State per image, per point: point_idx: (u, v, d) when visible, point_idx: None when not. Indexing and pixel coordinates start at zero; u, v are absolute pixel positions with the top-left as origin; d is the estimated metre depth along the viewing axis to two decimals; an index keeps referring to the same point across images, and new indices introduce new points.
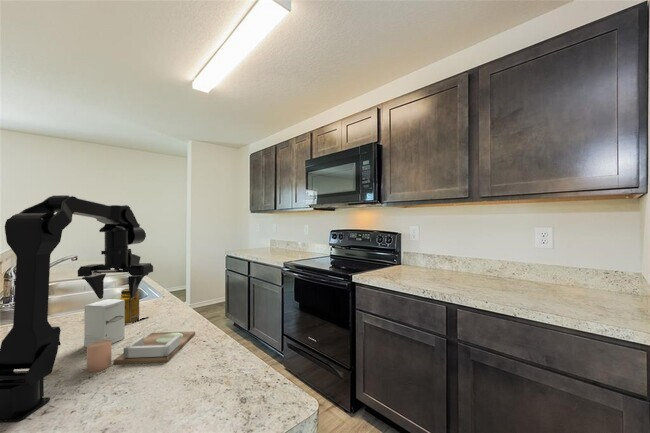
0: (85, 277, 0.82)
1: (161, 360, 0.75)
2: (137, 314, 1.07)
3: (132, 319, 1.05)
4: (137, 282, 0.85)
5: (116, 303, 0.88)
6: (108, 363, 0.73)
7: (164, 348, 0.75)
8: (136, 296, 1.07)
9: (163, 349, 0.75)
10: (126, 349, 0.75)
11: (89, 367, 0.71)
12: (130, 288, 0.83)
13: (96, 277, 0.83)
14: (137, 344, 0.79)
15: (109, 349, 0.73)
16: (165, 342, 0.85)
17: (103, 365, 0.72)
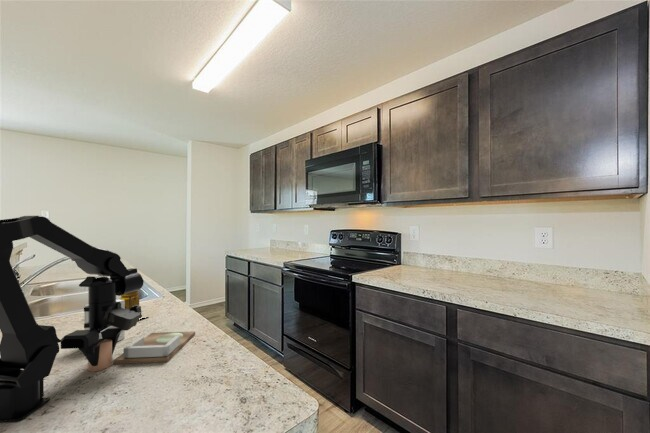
0: None
1: (161, 360, 0.75)
2: None
3: None
4: (92, 349, 0.69)
5: None
6: (109, 362, 0.73)
7: (164, 348, 0.75)
8: (136, 296, 1.07)
9: (163, 349, 0.75)
10: (126, 349, 0.75)
11: (89, 367, 0.71)
12: None
13: (107, 330, 0.76)
14: (137, 344, 0.79)
15: (110, 348, 0.73)
16: (165, 342, 0.85)
17: (103, 364, 0.72)
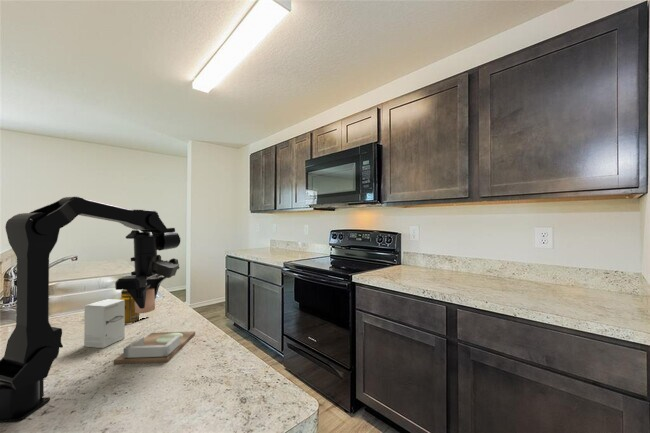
0: None
1: (161, 360, 0.75)
2: (137, 314, 1.07)
3: (132, 319, 1.05)
4: (140, 293, 0.79)
5: (116, 303, 0.88)
6: (153, 307, 0.83)
7: (164, 348, 0.75)
8: None
9: (163, 349, 0.75)
10: (126, 349, 0.75)
11: (137, 309, 0.81)
12: None
13: (149, 280, 0.86)
14: (137, 344, 0.79)
15: (153, 295, 0.83)
16: (165, 342, 0.85)
17: (149, 308, 0.82)
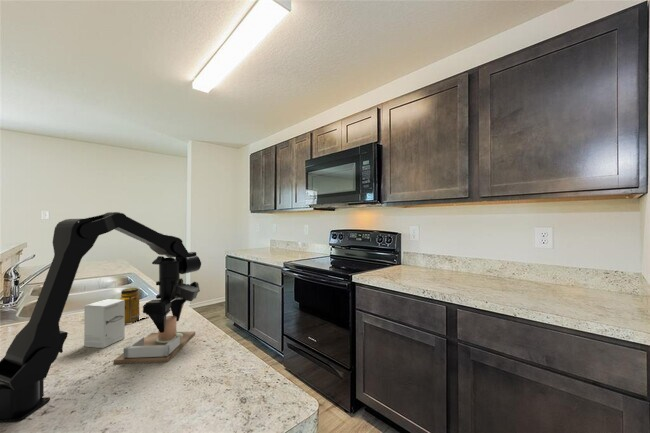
0: None
1: (161, 360, 0.75)
2: (137, 314, 1.07)
3: (132, 319, 1.05)
4: (161, 318, 0.83)
5: (116, 303, 0.88)
6: (175, 334, 0.88)
7: (164, 348, 0.75)
8: (136, 296, 1.07)
9: (163, 349, 0.75)
10: (126, 349, 0.75)
11: (160, 337, 0.86)
12: None
13: (174, 301, 0.93)
14: (137, 344, 0.79)
15: (175, 323, 0.88)
16: (165, 342, 0.85)
17: (171, 336, 0.87)
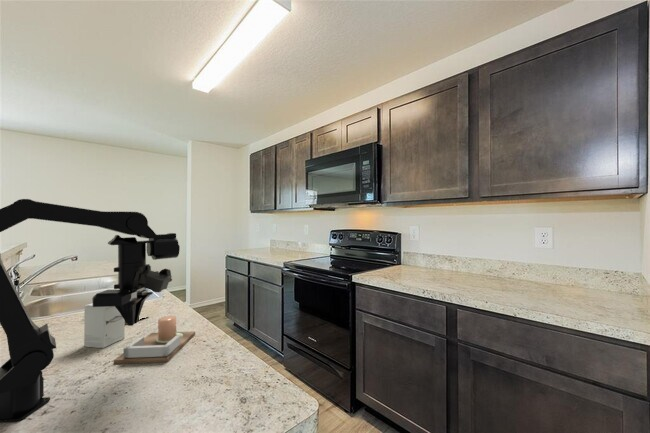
0: None
1: (161, 360, 0.75)
2: None
3: None
4: (129, 308, 0.68)
5: None
6: (174, 334, 0.88)
7: (164, 348, 0.75)
8: None
9: (163, 349, 0.75)
10: (126, 349, 0.75)
11: (160, 337, 0.86)
12: None
13: None
14: (137, 344, 0.79)
15: (175, 323, 0.88)
16: (165, 342, 0.85)
17: (171, 336, 0.87)
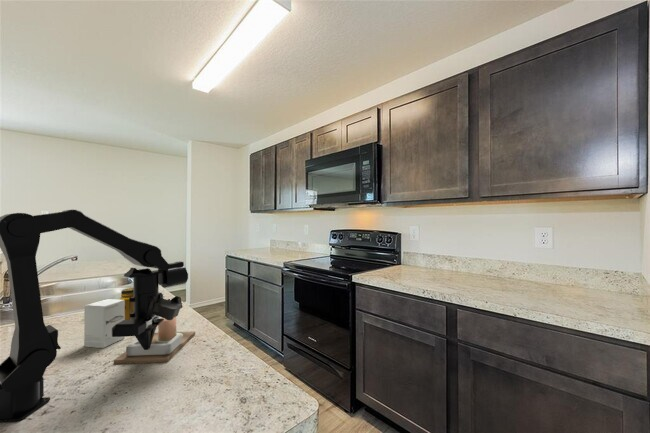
0: None
1: (161, 360, 0.75)
2: None
3: None
4: (145, 334, 0.74)
5: (116, 303, 0.88)
6: (174, 334, 0.88)
7: (166, 346, 0.77)
8: None
9: (165, 347, 0.77)
10: (129, 347, 0.76)
11: (160, 337, 0.86)
12: None
13: None
14: None
15: (175, 323, 0.88)
16: (165, 342, 0.85)
17: (171, 336, 0.87)
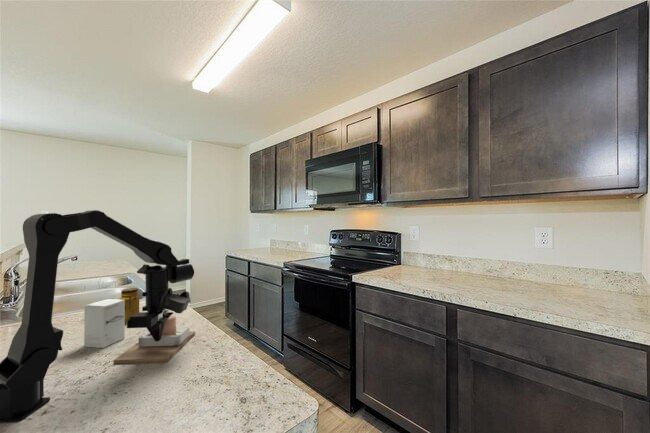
0: None
1: (161, 360, 0.75)
2: None
3: None
4: (156, 327, 0.80)
5: (116, 303, 0.88)
6: (174, 334, 0.88)
7: (175, 337, 0.82)
8: (136, 296, 1.07)
9: (175, 339, 0.82)
10: (141, 339, 0.82)
11: None
12: None
13: None
14: (150, 334, 0.86)
15: (175, 323, 0.88)
16: None
17: None
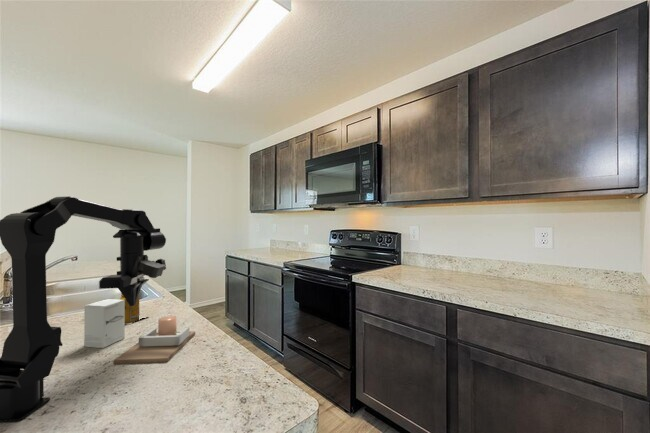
0: None
1: (161, 360, 0.75)
2: (137, 314, 1.07)
3: (132, 319, 1.05)
4: (130, 291, 0.81)
5: (116, 303, 0.88)
6: (174, 334, 0.88)
7: (175, 337, 0.82)
8: None
9: (175, 339, 0.82)
10: (141, 339, 0.82)
11: None
12: None
13: None
14: (150, 334, 0.86)
15: (175, 323, 0.88)
16: None
17: None
